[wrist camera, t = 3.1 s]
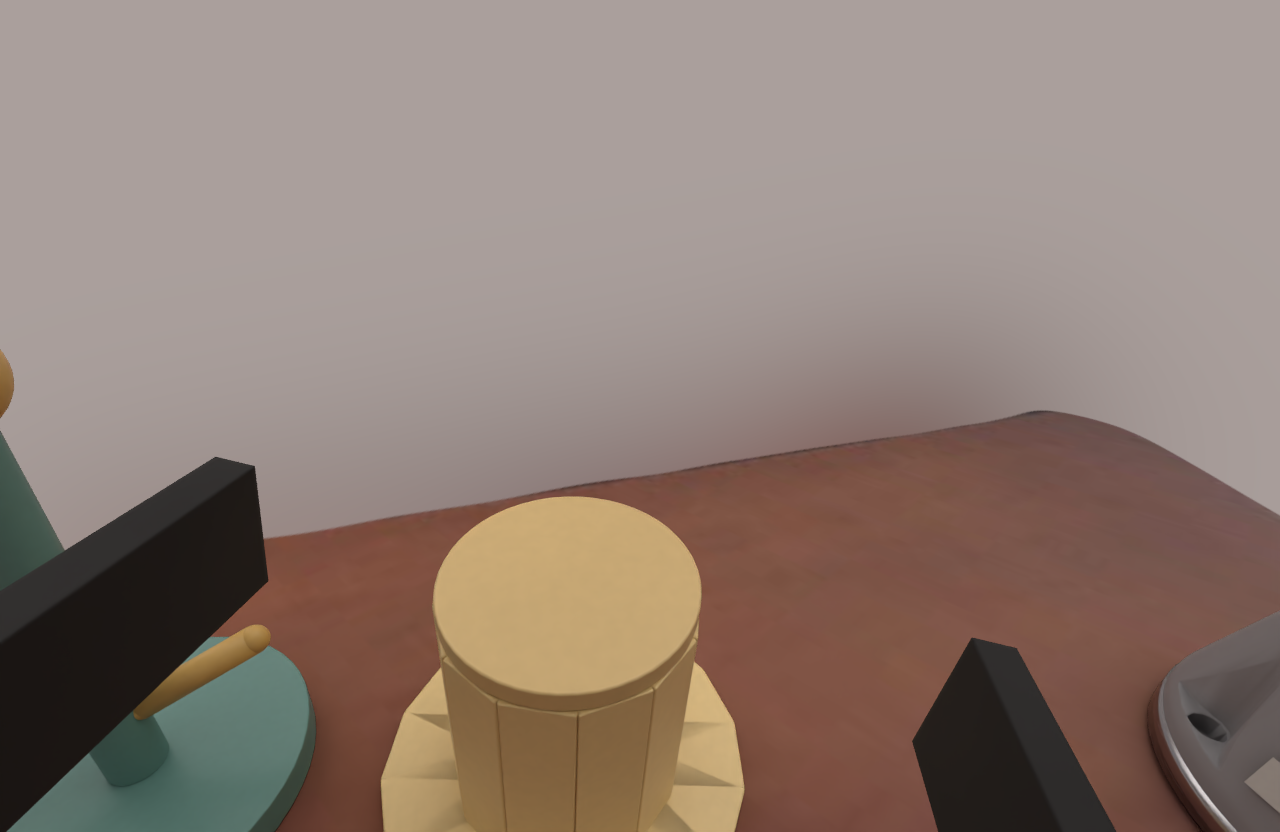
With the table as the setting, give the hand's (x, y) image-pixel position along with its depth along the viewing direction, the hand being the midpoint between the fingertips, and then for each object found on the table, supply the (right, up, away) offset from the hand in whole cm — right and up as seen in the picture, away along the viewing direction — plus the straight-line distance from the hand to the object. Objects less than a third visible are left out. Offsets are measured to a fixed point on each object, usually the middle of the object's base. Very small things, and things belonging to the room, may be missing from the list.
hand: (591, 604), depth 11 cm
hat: (-2, -11, +15) cm, 19 cm away
